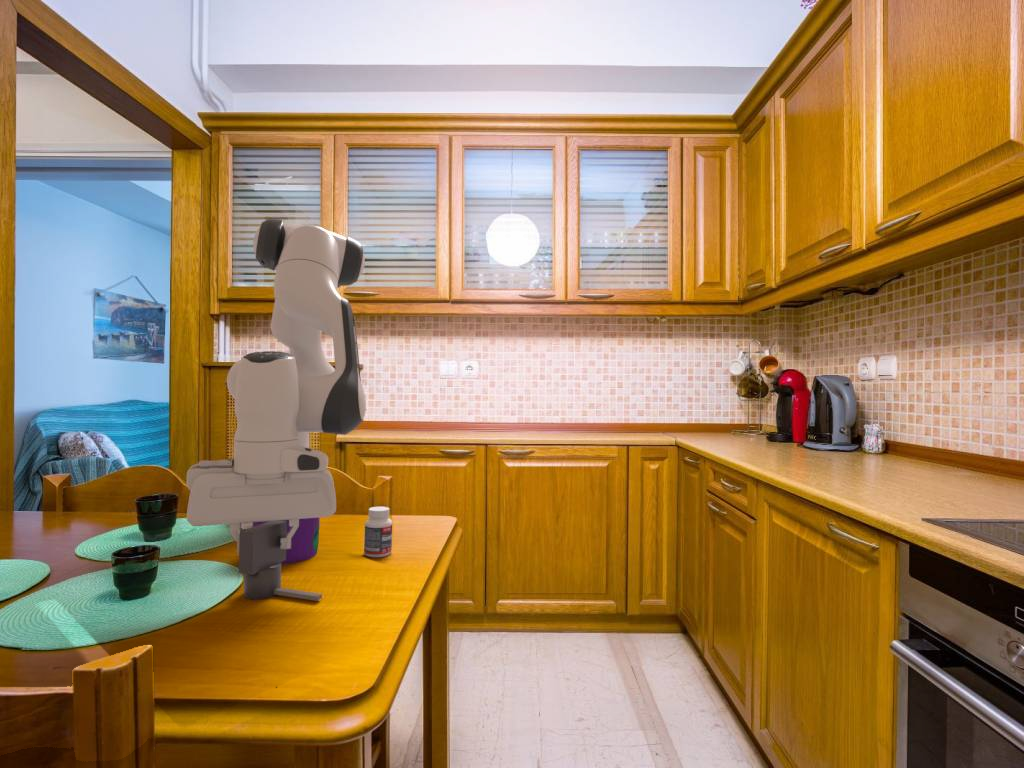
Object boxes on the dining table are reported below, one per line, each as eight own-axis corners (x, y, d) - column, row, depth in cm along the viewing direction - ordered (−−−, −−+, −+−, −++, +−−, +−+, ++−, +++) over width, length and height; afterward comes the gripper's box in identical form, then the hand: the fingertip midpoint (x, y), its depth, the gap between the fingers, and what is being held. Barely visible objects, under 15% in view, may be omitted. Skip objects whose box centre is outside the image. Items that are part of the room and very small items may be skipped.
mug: (315, 572, 92) (316, 516, 92) (244, 578, 89) (245, 519, 90) (325, 544, 109) (326, 496, 109) (266, 548, 106) (267, 498, 106)
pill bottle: (384, 559, 99) (385, 512, 100) (359, 556, 101) (360, 510, 101) (395, 550, 105) (397, 506, 105) (371, 548, 106) (372, 504, 106)
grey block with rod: (230, 599, 76) (232, 530, 76) (265, 582, 82) (267, 519, 83) (303, 611, 72) (305, 538, 72) (334, 592, 79) (335, 526, 79)
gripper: (182, 464, 72) (180, 564, 72) (337, 458, 80) (336, 549, 79) (191, 458, 78) (189, 550, 78) (335, 453, 85) (334, 537, 85)
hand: (265, 549), depth 79 cm, fingers closed on grey block with rod, 4 cm apart
